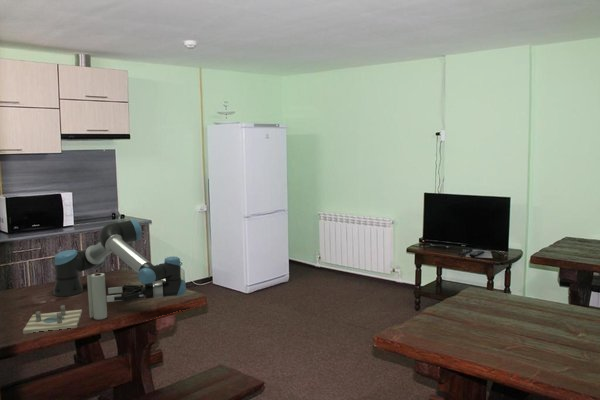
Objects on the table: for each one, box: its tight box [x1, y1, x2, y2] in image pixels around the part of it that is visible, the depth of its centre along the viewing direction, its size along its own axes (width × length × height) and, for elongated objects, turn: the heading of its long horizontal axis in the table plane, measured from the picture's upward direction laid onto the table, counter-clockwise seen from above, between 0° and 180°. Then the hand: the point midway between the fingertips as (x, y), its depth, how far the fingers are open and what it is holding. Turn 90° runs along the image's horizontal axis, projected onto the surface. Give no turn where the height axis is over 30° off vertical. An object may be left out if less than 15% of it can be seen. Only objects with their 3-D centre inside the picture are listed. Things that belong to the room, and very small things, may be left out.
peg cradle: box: [22, 304, 83, 335], centre depth 238 cm, size 22×22×6 cm
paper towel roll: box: [86, 272, 108, 320], centre depth 243 cm, size 7×6×21 cm
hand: (107, 294), depth 243 cm, fingers open, 13 cm apart
